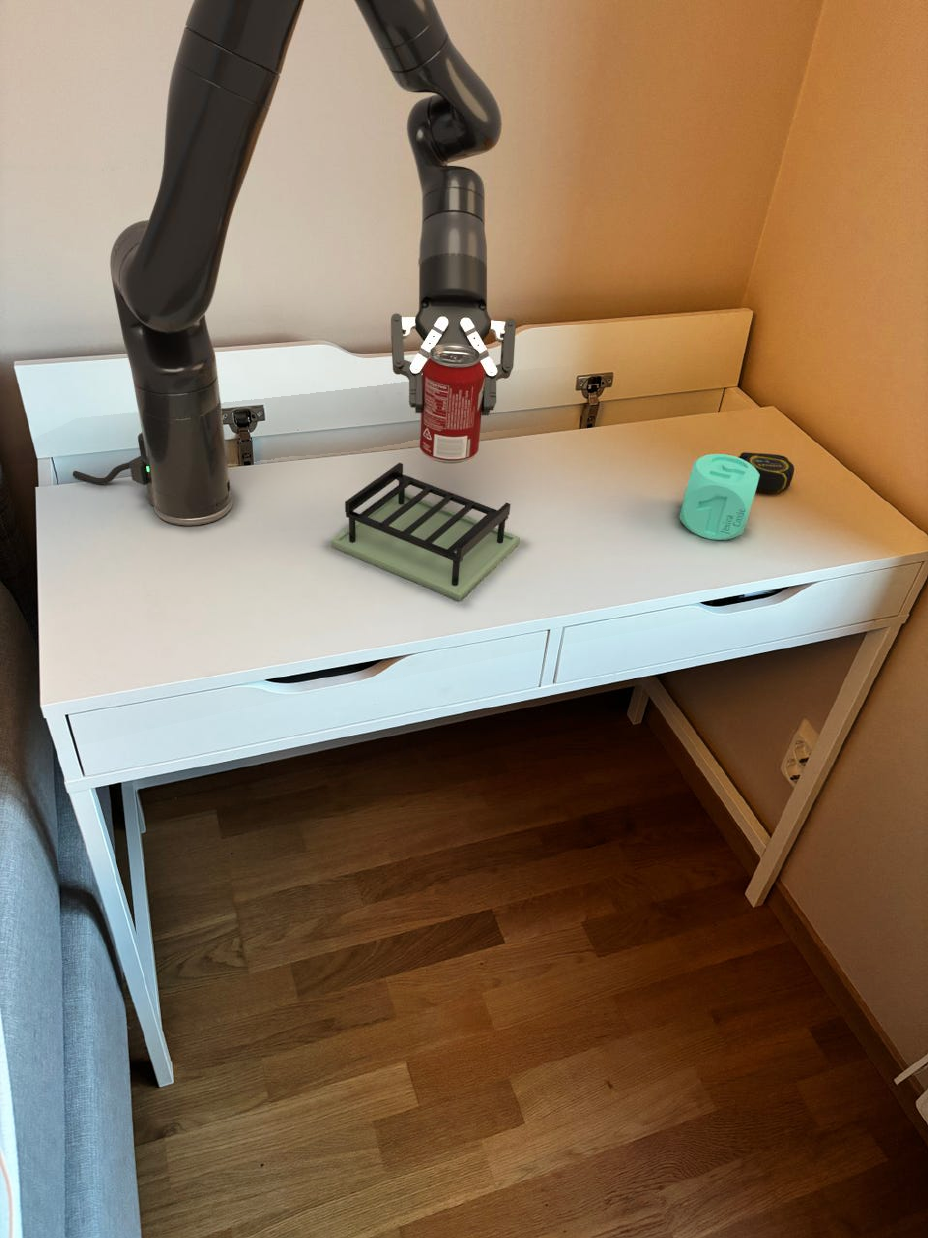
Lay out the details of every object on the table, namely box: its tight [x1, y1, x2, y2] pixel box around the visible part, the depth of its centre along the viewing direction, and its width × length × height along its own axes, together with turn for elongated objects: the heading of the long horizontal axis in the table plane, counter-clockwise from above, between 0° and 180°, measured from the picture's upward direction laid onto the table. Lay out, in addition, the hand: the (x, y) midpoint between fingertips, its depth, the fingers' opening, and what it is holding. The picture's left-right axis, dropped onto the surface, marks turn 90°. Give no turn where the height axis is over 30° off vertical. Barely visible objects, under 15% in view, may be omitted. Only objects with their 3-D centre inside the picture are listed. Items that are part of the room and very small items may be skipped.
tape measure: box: [737, 451, 795, 494], centre depth 128 cm, size 7×7×4 cm
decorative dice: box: [679, 453, 760, 541], centre depth 119 cm, size 8×8×8 cm
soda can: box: [418, 343, 485, 464], centre depth 104 cm, size 7×7×12 cm
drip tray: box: [330, 492, 521, 603], centre depth 113 cm, size 18×14×1 cm
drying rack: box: [344, 462, 512, 586], centre depth 111 cm, size 16×11×6 cm
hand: (452, 411), depth 103 cm, fingers closed on soda can, 7 cm apart
